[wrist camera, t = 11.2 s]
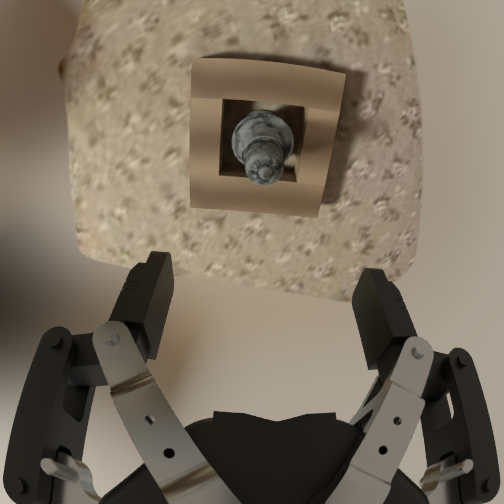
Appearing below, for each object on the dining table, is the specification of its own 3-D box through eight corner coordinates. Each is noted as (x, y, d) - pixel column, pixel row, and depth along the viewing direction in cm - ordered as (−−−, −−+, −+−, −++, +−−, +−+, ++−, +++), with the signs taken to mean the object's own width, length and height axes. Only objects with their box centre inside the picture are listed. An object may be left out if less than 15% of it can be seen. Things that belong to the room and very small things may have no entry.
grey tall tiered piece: (229, 111, 27) (214, 143, 18) (286, 104, 27) (304, 132, 17) (239, 161, 31) (230, 219, 21) (292, 155, 30) (309, 210, 21)
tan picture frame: (198, 58, 23) (192, 58, 21) (337, 72, 24) (346, 74, 22) (195, 195, 33) (190, 207, 31) (313, 204, 34) (317, 218, 32)
